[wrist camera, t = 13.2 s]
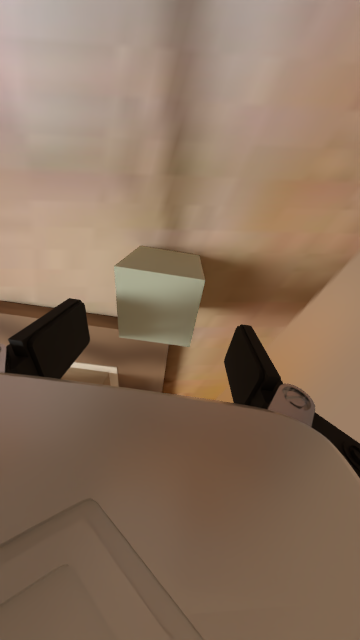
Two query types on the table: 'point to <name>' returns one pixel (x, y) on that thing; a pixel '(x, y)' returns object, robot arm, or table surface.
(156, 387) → the walnut board
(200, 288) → the sage block
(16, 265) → the table surface
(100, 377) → the maple block
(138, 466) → the robot arm
